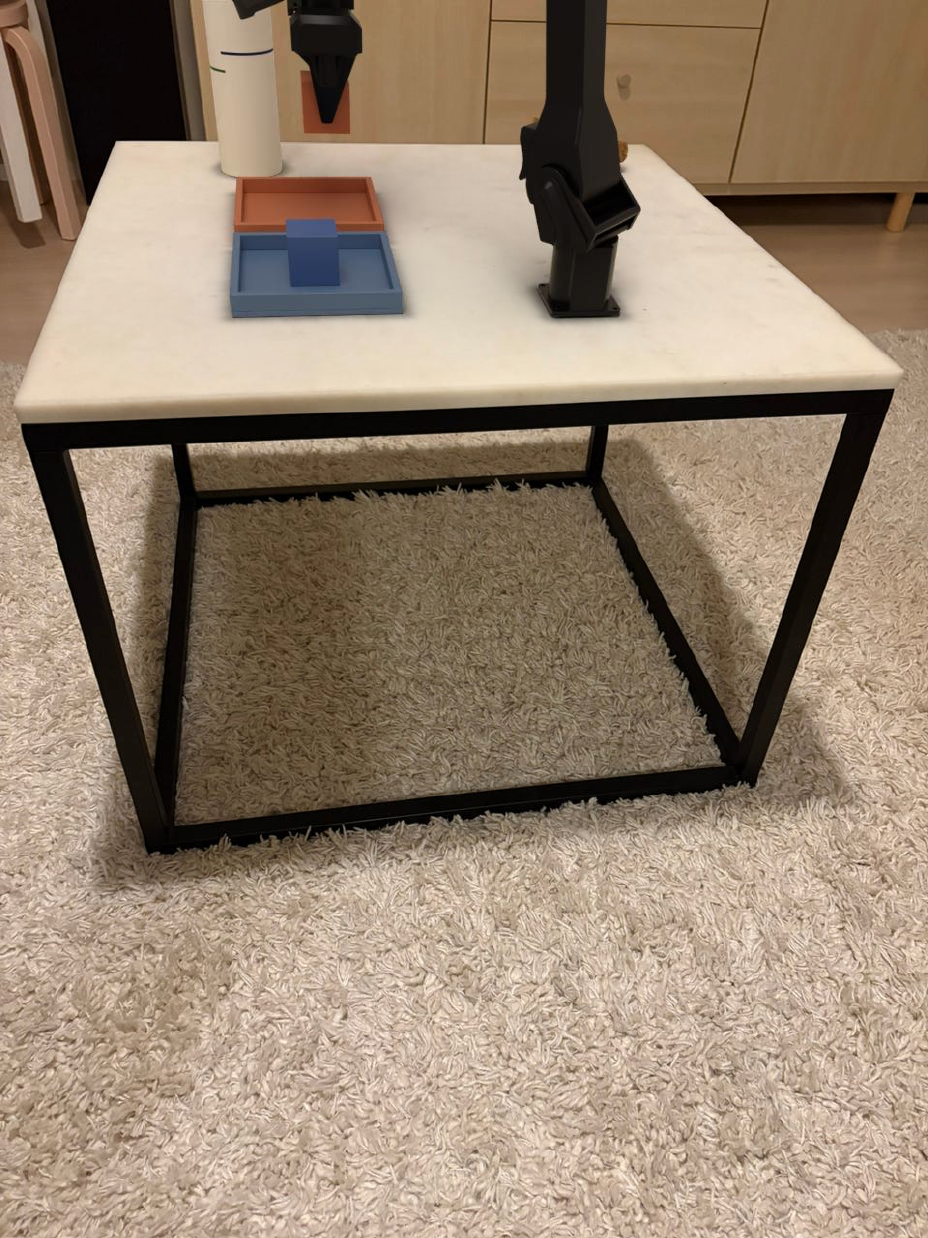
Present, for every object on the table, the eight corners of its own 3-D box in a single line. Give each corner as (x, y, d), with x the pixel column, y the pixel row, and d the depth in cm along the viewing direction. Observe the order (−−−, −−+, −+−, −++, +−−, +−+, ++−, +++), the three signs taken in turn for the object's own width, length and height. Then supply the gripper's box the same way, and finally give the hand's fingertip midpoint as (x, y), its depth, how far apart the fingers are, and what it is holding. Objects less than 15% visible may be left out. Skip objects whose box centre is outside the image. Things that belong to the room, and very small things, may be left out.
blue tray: (402, 313, 84) (402, 291, 83) (232, 317, 82) (229, 294, 80) (386, 250, 95) (386, 230, 94) (235, 252, 93) (233, 232, 91)
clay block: (350, 133, 93) (349, 82, 90) (304, 133, 92) (301, 81, 89) (347, 120, 96) (346, 71, 93) (302, 120, 95) (300, 69, 92)
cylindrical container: (270, 180, 109) (247, -87, 93) (211, 174, 110) (179, -93, 93) (290, 163, 115) (272, -93, 98) (235, 156, 115) (208, -99, 99)
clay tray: (384, 243, 96) (384, 223, 95) (235, 244, 94) (233, 224, 93) (371, 194, 107) (371, 176, 106) (238, 195, 105) (236, 176, 104)
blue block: (339, 285, 87) (337, 236, 84) (290, 286, 86) (286, 236, 83) (336, 266, 90) (334, 218, 87) (289, 267, 89) (285, 218, 86)
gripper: (227, -96, 88) (244, 89, 99) (221, -69, 75) (241, 143, 85) (346, -90, 90) (350, 92, 101) (361, -62, 77) (364, 145, 87)
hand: (325, 115), depth 93 cm, fingers closed on clay block, 4 cm apart
